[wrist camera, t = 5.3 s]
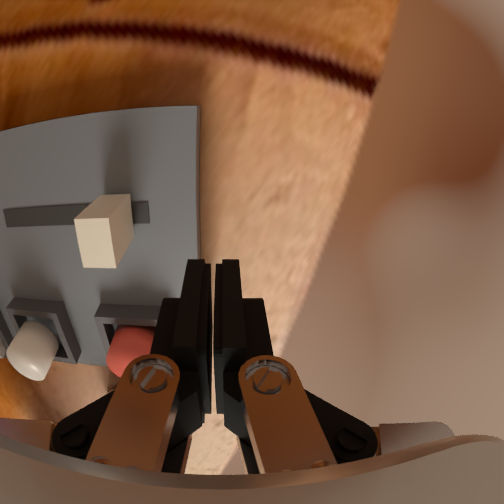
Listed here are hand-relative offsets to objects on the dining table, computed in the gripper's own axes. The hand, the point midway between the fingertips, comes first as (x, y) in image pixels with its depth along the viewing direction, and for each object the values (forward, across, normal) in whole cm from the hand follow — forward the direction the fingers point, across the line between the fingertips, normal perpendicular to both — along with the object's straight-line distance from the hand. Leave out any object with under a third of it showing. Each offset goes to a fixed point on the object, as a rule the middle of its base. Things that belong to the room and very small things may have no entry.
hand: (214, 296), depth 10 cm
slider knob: (+9, +6, +1) cm, 11 cm away
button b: (+7, +15, +11) cm, 20 cm away
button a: (+9, +6, +11) cm, 15 cm away
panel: (+12, +14, +5) cm, 19 cm away
